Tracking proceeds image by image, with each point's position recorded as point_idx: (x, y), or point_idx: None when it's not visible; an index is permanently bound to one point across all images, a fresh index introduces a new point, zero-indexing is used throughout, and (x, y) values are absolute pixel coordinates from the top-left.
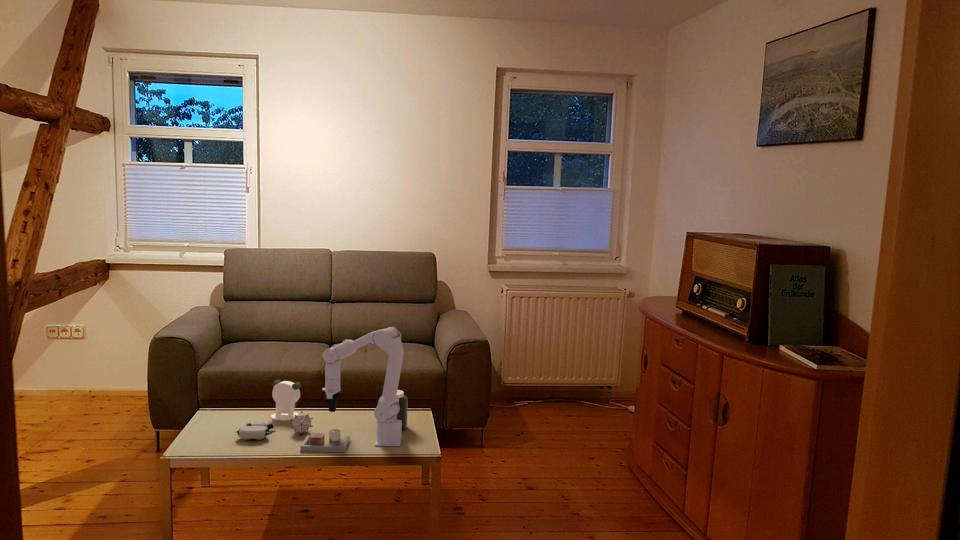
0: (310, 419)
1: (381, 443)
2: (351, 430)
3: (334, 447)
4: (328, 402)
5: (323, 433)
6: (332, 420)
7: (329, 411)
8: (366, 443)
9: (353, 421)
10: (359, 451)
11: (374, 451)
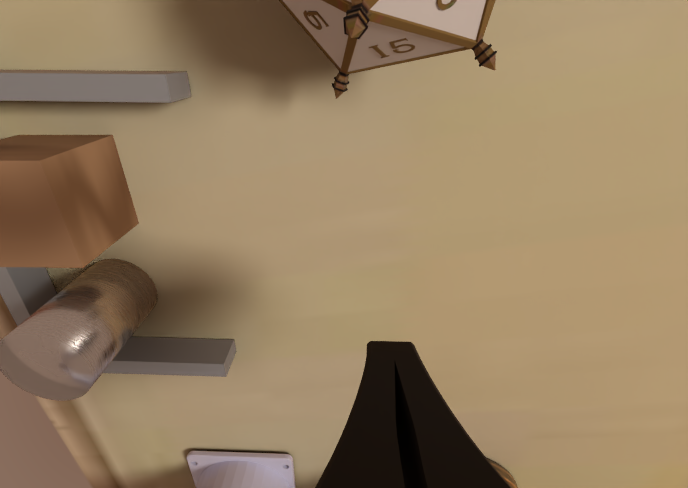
0: (440, 47)
1: (199, 478)
2: (421, 343)
3: (18, 316)
4: (329, 472)
5: (73, 260)
6: (683, 198)
7: (370, 343)
8: (219, 419)
9: (604, 338)
10: (104, 401)
11: (128, 449)
